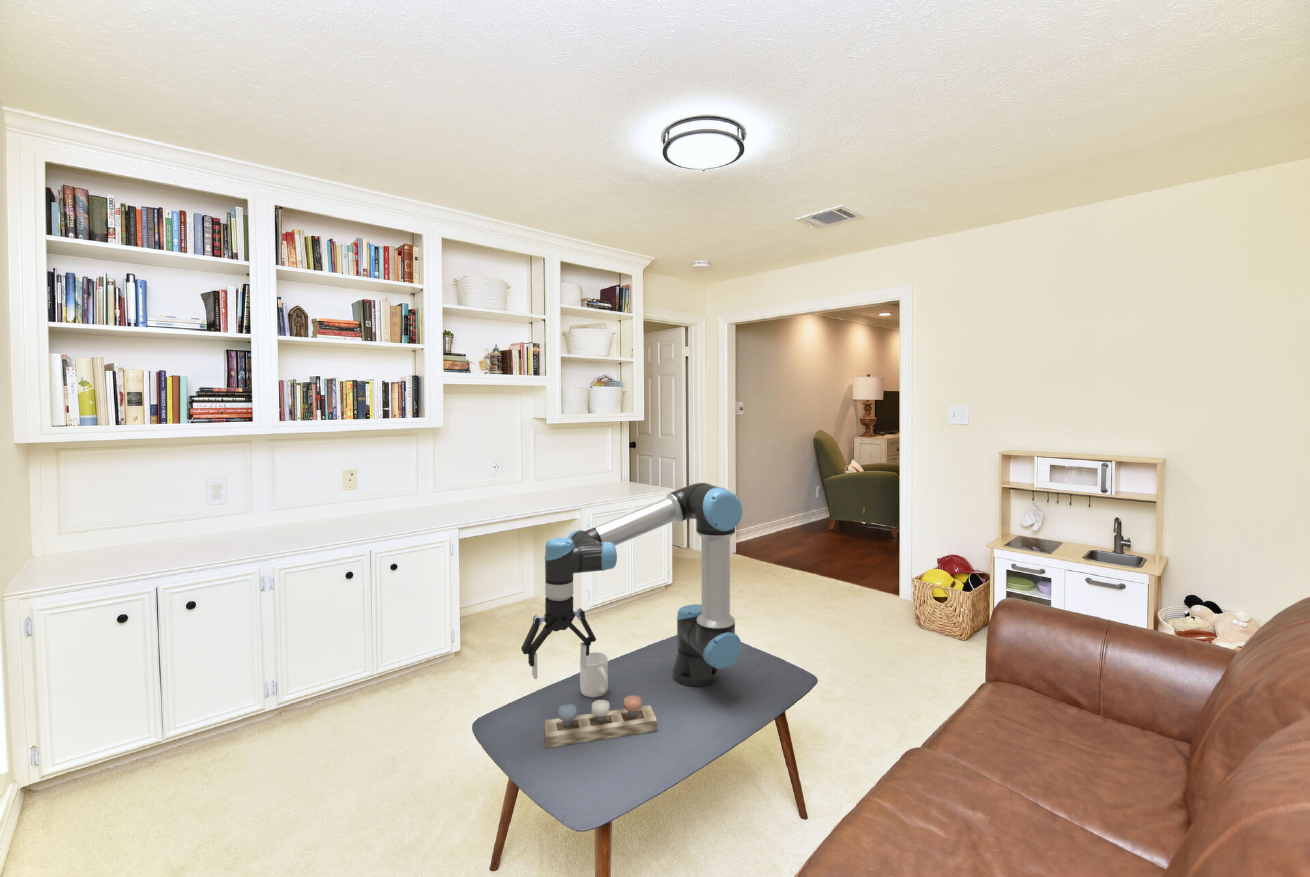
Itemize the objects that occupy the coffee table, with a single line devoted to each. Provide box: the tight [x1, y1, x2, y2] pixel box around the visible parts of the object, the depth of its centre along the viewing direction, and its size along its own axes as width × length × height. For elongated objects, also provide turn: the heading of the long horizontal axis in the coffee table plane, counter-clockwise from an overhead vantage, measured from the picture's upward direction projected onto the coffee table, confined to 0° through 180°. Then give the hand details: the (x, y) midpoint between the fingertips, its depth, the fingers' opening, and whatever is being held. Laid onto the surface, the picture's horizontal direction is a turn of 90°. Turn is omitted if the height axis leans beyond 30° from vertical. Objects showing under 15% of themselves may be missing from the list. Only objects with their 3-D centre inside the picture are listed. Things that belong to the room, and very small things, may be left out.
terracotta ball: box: [623, 695, 642, 718], centre depth 162 cm, size 5×5×4 cm
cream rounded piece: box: [591, 699, 610, 723], centre depth 160 cm, size 5×5×4 cm
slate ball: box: [558, 703, 578, 728], centre depth 158 cm, size 5×5×4 cm
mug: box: [579, 651, 609, 698], centre depth 180 cm, size 9×12×11 cm
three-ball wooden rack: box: [544, 705, 658, 749], centre depth 160 cm, size 30×8×3 cm, turn 104°
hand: (559, 671), depth 159 cm, fingers open, 13 cm apart
